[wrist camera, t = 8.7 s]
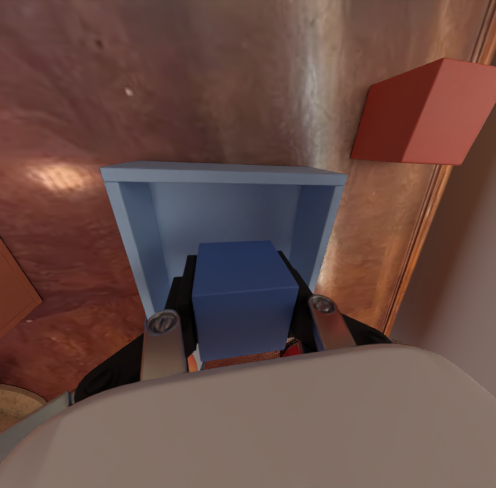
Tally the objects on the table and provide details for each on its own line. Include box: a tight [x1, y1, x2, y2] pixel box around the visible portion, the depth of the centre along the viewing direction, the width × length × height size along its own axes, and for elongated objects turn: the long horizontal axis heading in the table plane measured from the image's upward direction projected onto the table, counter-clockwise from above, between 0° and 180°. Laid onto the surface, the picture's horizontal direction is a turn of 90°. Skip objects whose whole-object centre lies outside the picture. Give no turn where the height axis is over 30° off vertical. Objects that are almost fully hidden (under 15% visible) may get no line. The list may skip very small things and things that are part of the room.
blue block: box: [192, 240, 299, 362], centre depth 10 cm, size 4×4×4 cm
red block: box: [351, 58, 496, 165], centre depth 11 cm, size 4×4×4 cm
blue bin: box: [100, 161, 347, 319], centre depth 14 cm, size 12×12×4 cm
